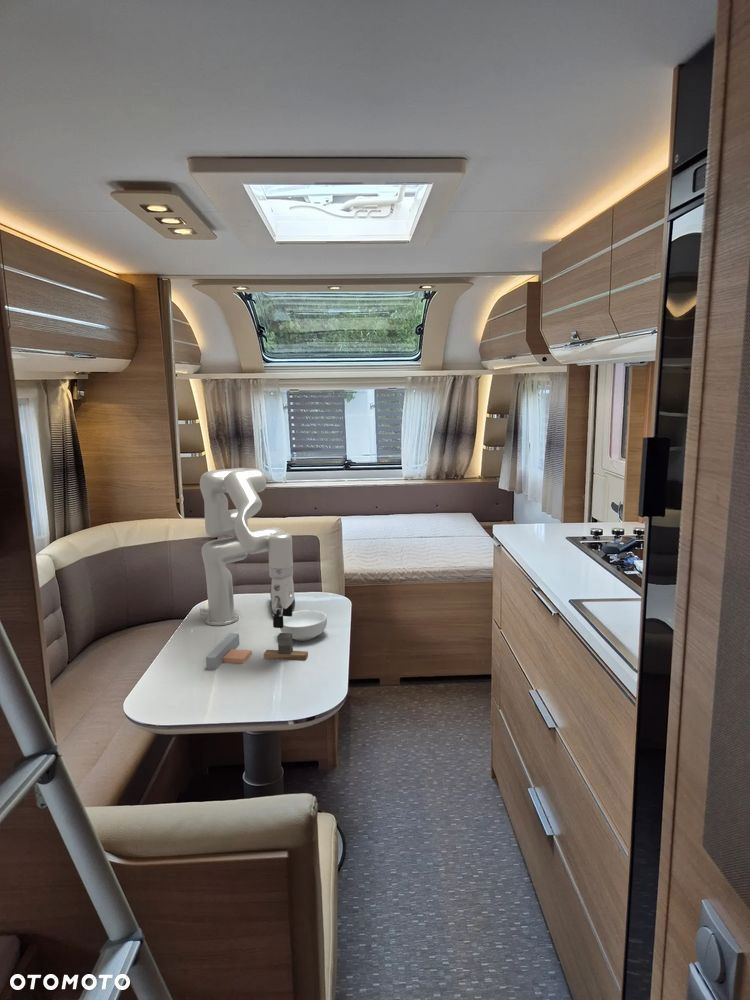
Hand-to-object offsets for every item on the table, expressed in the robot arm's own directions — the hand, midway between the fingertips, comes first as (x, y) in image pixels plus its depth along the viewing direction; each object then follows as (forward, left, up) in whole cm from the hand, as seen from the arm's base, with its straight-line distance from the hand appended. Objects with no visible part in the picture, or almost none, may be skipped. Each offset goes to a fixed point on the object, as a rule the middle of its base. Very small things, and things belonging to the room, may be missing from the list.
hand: (283, 621), depth 195 cm
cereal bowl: (+2, +18, -12) cm, 21 cm away
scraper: (+1, 0, -12) cm, 12 cm away
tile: (-15, -3, -13) cm, 20 cm away
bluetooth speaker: (-14, +44, -12) cm, 48 cm away
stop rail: (-20, -1, -12) cm, 24 cm away
